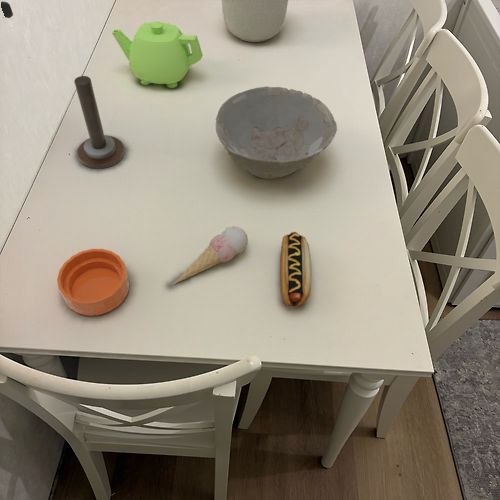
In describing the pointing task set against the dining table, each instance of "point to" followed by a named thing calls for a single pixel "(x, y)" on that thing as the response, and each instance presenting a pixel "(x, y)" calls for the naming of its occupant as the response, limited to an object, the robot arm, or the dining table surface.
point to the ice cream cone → (218, 251)
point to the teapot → (159, 53)
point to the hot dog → (295, 270)
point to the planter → (254, 18)
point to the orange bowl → (93, 281)
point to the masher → (93, 122)
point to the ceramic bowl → (274, 130)
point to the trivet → (102, 162)
